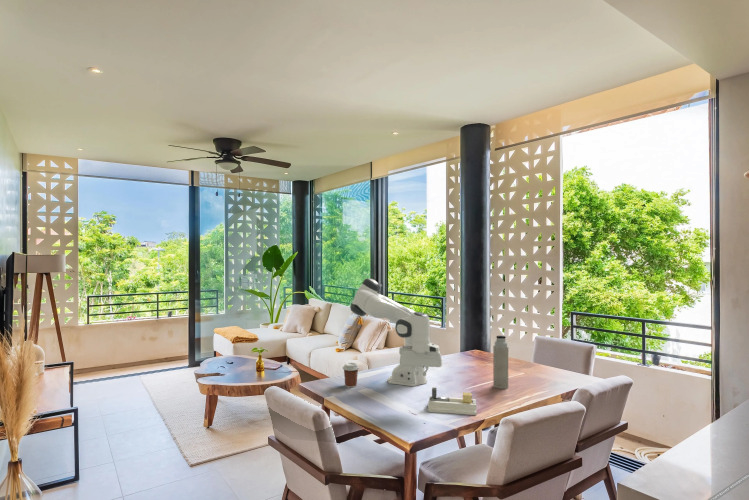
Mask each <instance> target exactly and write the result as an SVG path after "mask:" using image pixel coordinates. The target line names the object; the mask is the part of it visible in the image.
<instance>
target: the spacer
mask: <svg viewBox="0 0 749 500" xmlns="http://www.w3.org/2000/svg"><path fill="white" fill-rule="evenodd" d="M472 396H473V395H472V392H462V398H463V403H472V399H473V398H472Z"/></svg>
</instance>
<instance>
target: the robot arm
mask: <svg viewBox="0 0 749 500" xmlns="http://www.w3.org/2000/svg"><path fill="white" fill-rule="evenodd" d="M380 293H382V291H381V286H380V284H379V283H378V281H376V280H375V279H373V278H365V279H364V280H363V281H362V283H361V285H360V286H359V287H358V289H357V291H356V293H355V295H354V296H353V299H352V302H351V303H350V307H349V308H350V311H351V312H352V313H353V314H354V315H355V316H359V317H365V316H366V315H368V316H370V317H372V318H376V319H386V320H389V321H390V322H392V323H395V330H394V331H395V332H396V335H397V336H398V337H400V338H402V339H404V345H401V346H400V347H399V351H398V352H399V355H400V357H399V364H398V365H397V366H395V367H394V368H393V370H392V372H391V375H390V376H388V378H387V383H388V384H393V385H400V386H410V387H415V386H419V385H424V384H426V383H427V382H428V380H427V377H426V376H427V372H428V371H429V368H441V367H442V366H443V359H442V358H443V356H442V354H441V351H440V346H439V345H438V344H435V343H433V342H431V338H430V334H431V333H430V332H431V322H430V317H429V315H428V314H427V313H425V312H422V311H421V312H420V311H415V310H413V309H411V308H410V307H408V306H405V305H402V304H400V303H399V302H396V301H395V300H393V299H391V298H389V296H385V295H383V294H380Z"/></svg>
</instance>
